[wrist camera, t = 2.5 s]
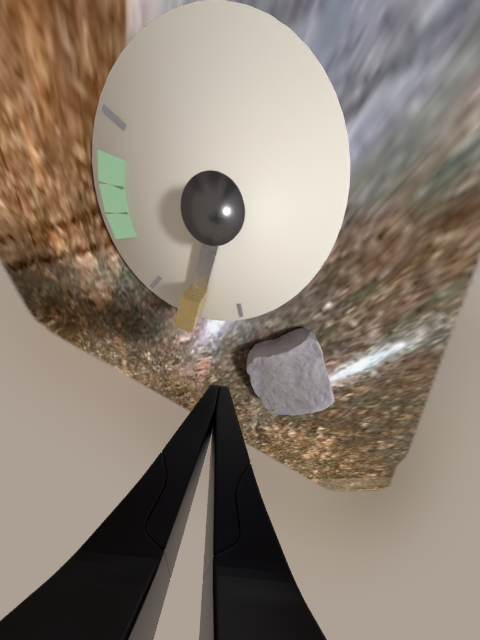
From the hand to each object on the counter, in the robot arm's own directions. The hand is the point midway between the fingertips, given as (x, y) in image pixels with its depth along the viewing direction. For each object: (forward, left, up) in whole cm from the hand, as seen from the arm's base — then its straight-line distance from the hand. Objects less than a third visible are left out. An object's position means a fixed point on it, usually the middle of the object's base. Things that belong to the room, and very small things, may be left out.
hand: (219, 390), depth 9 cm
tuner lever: (+2, -4, -11) cm, 12 cm away
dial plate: (0, -8, -13) cm, 15 cm away
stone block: (-4, +12, -13) cm, 18 cm away
